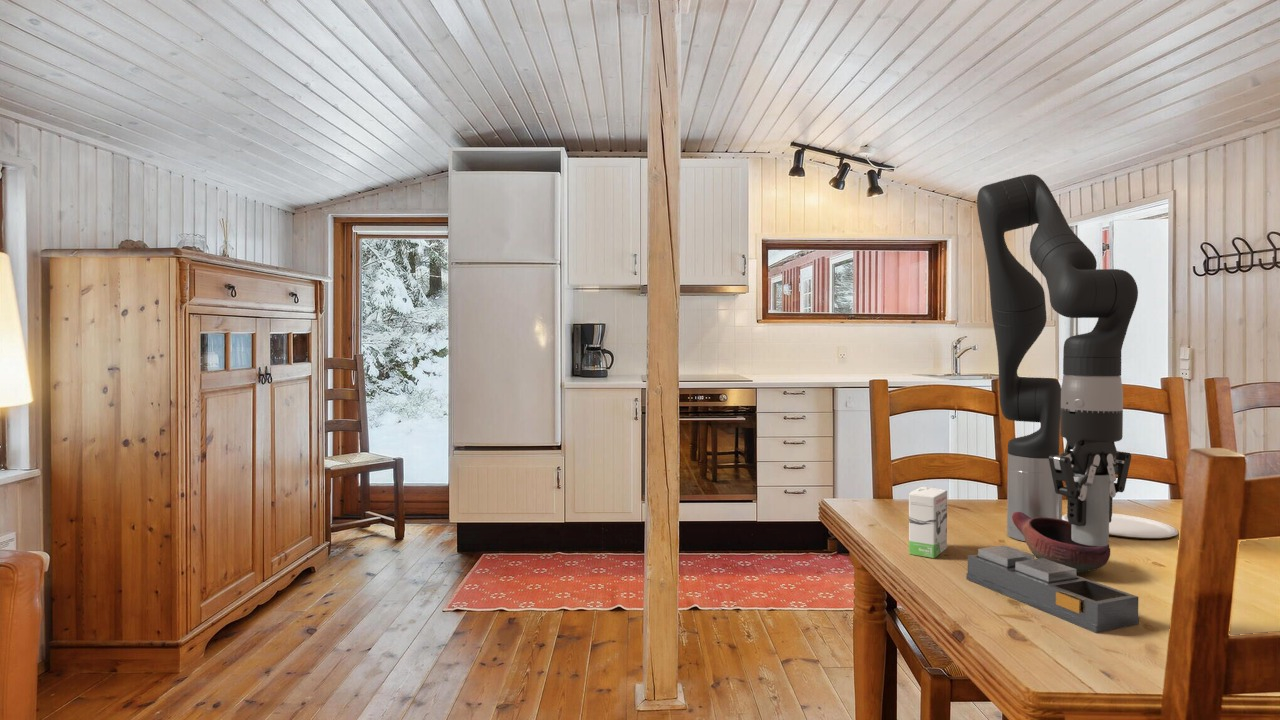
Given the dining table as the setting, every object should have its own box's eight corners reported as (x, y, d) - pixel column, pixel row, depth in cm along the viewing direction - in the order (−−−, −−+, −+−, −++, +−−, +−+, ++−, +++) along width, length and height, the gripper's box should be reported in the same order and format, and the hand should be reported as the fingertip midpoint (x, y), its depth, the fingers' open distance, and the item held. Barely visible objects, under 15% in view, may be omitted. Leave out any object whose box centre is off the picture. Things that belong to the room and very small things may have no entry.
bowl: (1114, 567, 120) (1114, 523, 120) (1105, 587, 110) (1106, 538, 110) (1013, 549, 130) (1014, 509, 130) (997, 566, 120) (998, 522, 120)
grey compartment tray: (964, 579, 114) (965, 547, 114) (1004, 573, 117) (1005, 542, 116) (1094, 633, 92) (1094, 594, 92) (1139, 624, 95) (1139, 586, 95)
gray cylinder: (1064, 538, 100) (1064, 469, 99) (1092, 537, 100) (1093, 468, 100) (1086, 547, 95) (1087, 475, 95) (1116, 546, 95) (1117, 474, 95)
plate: (1193, 532, 144) (1193, 526, 144) (1156, 548, 132) (1156, 542, 132) (1085, 512, 161) (1085, 507, 161) (1044, 525, 149) (1044, 520, 149)
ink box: (934, 559, 124) (935, 496, 124) (907, 554, 128) (907, 492, 127) (947, 548, 131) (948, 489, 131) (921, 544, 134) (922, 485, 134)
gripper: (1101, 403, 103) (1099, 513, 103) (1031, 405, 98) (1030, 521, 99) (1152, 407, 96) (1150, 525, 96) (1079, 410, 91) (1078, 534, 92)
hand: (1089, 522), depth 97 cm, fingers closed on gray cylinder, 4 cm apart
